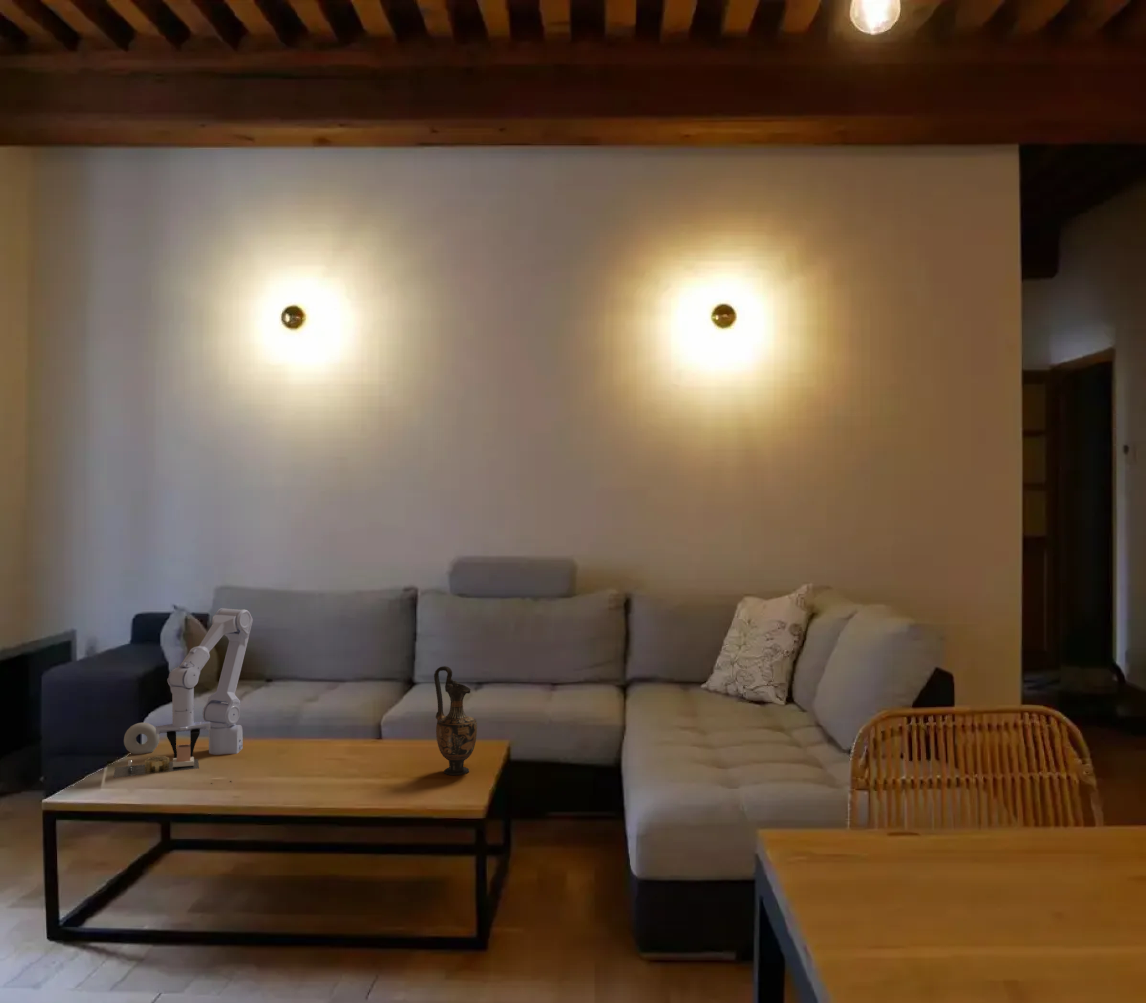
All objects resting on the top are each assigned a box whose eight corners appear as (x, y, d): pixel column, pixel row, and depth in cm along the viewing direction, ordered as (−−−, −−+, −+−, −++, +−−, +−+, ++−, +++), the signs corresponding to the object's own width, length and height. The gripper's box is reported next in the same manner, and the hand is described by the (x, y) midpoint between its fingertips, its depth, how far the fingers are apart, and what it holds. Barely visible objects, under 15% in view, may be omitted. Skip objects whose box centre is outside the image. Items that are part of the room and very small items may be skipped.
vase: (469, 778, 264) (469, 671, 263) (427, 776, 266) (427, 669, 266) (482, 766, 275) (482, 664, 275) (441, 764, 278) (441, 662, 277)
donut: (122, 758, 283) (122, 724, 283) (125, 754, 287) (125, 722, 286) (158, 756, 285) (158, 723, 285) (160, 753, 289) (160, 720, 288)
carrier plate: (197, 762, 279) (197, 748, 279) (199, 771, 270) (199, 757, 270) (115, 771, 270) (115, 757, 270) (113, 781, 261) (113, 766, 261)
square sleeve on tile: (193, 761, 277) (194, 743, 277) (193, 765, 272) (194, 747, 272) (172, 762, 275) (173, 744, 275) (172, 767, 269) (173, 748, 270)
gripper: (155, 714, 266) (155, 762, 266) (210, 710, 272) (210, 757, 272) (155, 709, 273) (155, 756, 273) (209, 704, 278) (209, 750, 279)
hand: (183, 756), depth 273 cm, fingers closed on square sleeve on tile, 3 cm apart
